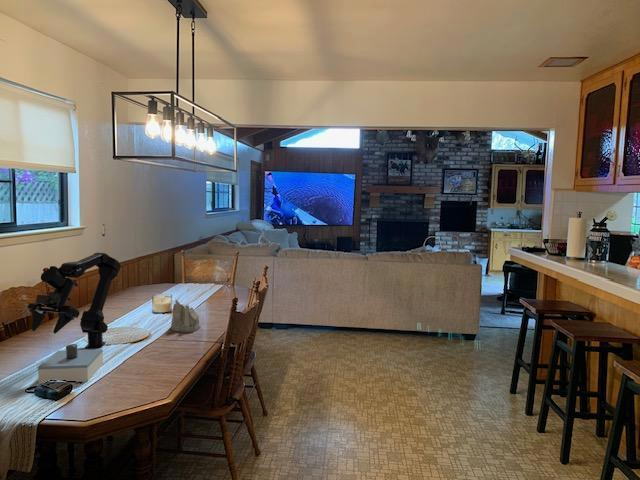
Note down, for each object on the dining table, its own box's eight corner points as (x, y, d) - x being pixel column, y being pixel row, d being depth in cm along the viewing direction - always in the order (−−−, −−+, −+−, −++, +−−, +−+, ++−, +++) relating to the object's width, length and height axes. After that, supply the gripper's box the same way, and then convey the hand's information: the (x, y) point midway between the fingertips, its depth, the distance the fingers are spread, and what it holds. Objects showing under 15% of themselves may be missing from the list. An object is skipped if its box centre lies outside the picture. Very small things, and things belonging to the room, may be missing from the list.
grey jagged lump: (191, 333, 212) (191, 301, 211) (163, 329, 218) (163, 299, 217) (210, 326, 226) (210, 297, 226) (184, 323, 232) (184, 295, 232)
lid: (58, 355, 169) (57, 339, 169) (102, 353, 172) (102, 337, 171) (38, 371, 153) (37, 354, 153) (87, 370, 156) (86, 352, 155)
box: (58, 365, 170) (58, 353, 169) (103, 364, 172) (102, 351, 172) (38, 383, 154) (38, 369, 153) (87, 381, 156) (87, 367, 156)
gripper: (26, 282, 166) (6, 322, 158) (69, 286, 162) (50, 327, 155) (46, 294, 175) (28, 332, 168) (87, 298, 172) (70, 337, 164)
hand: (43, 332), depth 163 cm, fingers open, 9 cm apart
